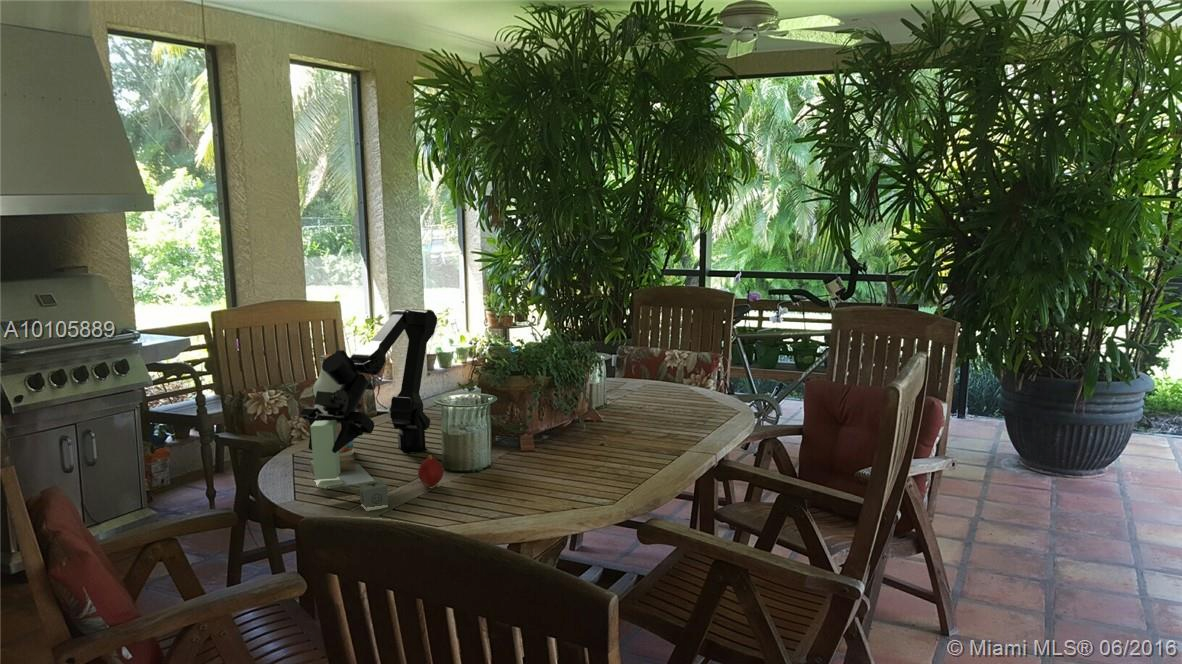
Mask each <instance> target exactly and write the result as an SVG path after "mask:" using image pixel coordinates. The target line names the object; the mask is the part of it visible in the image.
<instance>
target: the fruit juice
mask: <svg viewBox="0 0 1182 664" xmlns="http://www.w3.org/2000/svg"><path fill="white" fill-rule="evenodd" d="M332 354H333V353H330V354H322V355H320V356H319V363H320V366H321V367H320V372H319V375H318V378H317V379H316V381H315V383H314V384H313V391H312V392H313V394H314V395H313V396H314V397H316V393H317V391H323V392H332V393H333V392H336V391H337V390H339V389H340V387H341V385H338V384H336V383H335V382H334V381H333V380H332V379H331V378H330V377H329V376H328V375H327V374H326V373H325V371H324V370H323V369H322V364H323V361H324V360H325V359H327V358H328V357H329V356H330V355H332ZM323 407H324V406H321V405H318V404H317V405H315V404H314V407H313V408H318V409H319V410H320V411H321V412H322V413H323V414H327V413H328V412H327V411H325V410H324V409H323ZM340 431H341V424H338V423H337V433H338V435H339V433H340ZM354 447H355V446H354V439H353V440H352V441H351V442H349V443H348V444H346V445H345V446H344V447H343V448H341V449H340V450H339V457H341V456H347V455H352V456H353V455H354V453H355V452H354Z"/></svg>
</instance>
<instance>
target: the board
mask: <svg viewBox="0 0 1182 664" xmlns="http://www.w3.org/2000/svg"><path fill="white" fill-rule="evenodd" d="M314 481H315V482H316V485H317V487H325V486H327V487H326V488H328V487H329V488H328V489H327V490H329V489H336V488H341V487H346V486H354V485H359V484H361V483H367V482H373V481H376V480H375V479H374V478H373V477H372V476H371V475H370V474H369V473H368V472H367V471H366V470H365V468H363V467H362V466H361V465H360V464H359V463H355V470H354V471H348V472H342V473H339V475H338V477H337V478H336V479H320V480H314Z"/></svg>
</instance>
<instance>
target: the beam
mask: <svg viewBox="0 0 1182 664" xmlns="http://www.w3.org/2000/svg"><path fill="white" fill-rule="evenodd" d="M339 460H340V473H342V472H348V471H354V470H355V465H356V459H355V457H354V456H353V454H352V455H347V456H341V457H339ZM309 464H310V472H311V473H312V474H313V476H314V466H313V460H310V463H309Z"/></svg>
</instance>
